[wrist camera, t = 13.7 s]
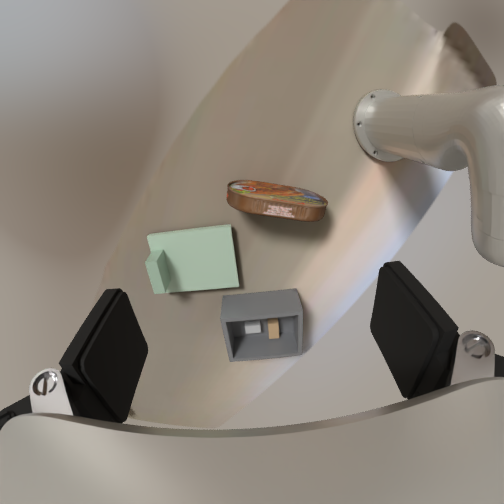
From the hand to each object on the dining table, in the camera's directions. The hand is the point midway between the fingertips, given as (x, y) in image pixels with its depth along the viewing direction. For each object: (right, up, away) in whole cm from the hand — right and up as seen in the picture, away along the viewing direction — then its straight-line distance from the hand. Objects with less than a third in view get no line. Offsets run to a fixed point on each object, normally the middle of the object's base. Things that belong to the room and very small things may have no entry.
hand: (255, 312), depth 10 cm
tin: (+4, +12, +35) cm, 37 cm away
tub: (+2, -10, +45) cm, 46 cm away
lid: (-10, +1, +40) cm, 41 cm away
